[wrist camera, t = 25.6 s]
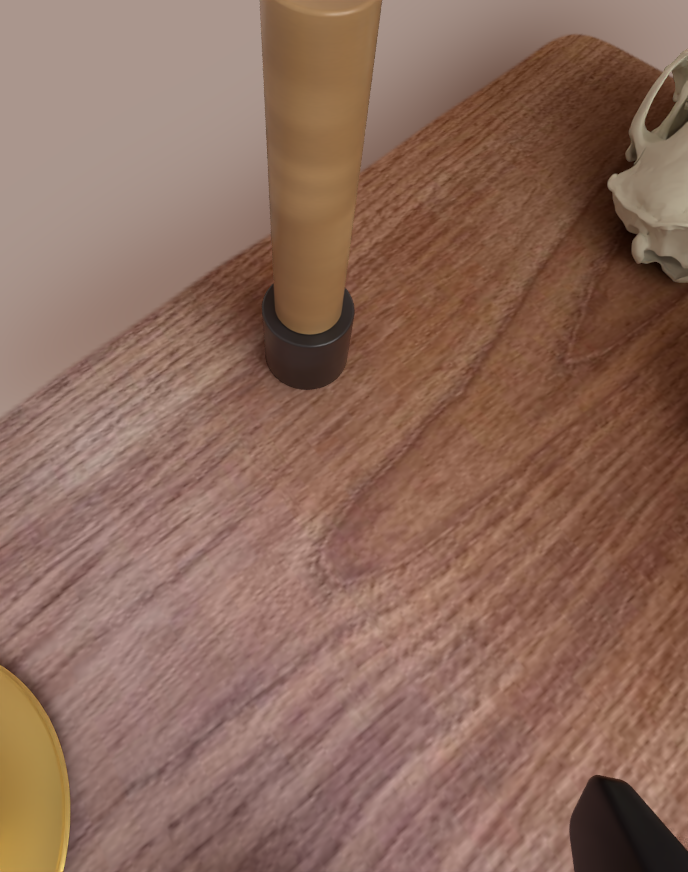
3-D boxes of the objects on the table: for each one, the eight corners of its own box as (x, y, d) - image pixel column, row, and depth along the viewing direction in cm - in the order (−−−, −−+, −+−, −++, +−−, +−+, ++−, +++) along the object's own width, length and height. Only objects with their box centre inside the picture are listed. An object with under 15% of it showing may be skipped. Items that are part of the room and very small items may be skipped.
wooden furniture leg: (307, 405, 25) (324, 53, 11) (248, 353, 25) (195, -37, 12) (363, 354, 26) (443, -20, 12) (305, 306, 27) (318, -97, 13)
